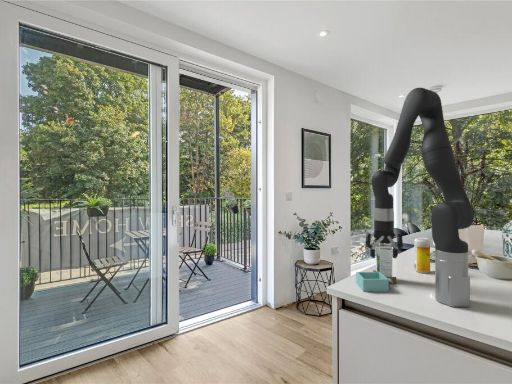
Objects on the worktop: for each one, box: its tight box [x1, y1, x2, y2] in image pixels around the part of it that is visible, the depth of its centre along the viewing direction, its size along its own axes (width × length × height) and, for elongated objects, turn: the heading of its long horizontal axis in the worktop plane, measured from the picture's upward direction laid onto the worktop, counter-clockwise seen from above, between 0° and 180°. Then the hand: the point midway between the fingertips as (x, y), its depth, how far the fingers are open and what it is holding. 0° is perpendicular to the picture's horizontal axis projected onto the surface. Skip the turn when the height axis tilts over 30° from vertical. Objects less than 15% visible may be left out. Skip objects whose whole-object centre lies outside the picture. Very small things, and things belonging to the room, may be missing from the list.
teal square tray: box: [355, 271, 390, 293], centre depth 111 cm, size 9×9×4 cm
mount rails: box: [372, 269, 397, 284], centre depth 118 cm, size 12×6×2 cm, turn 177°
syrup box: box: [375, 243, 393, 277], centre depth 120 cm, size 6×6×14 cm
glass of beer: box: [413, 236, 431, 275], centre depth 129 cm, size 6×6×15 cm
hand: (383, 257), depth 120 cm, fingers open, 8 cm apart
